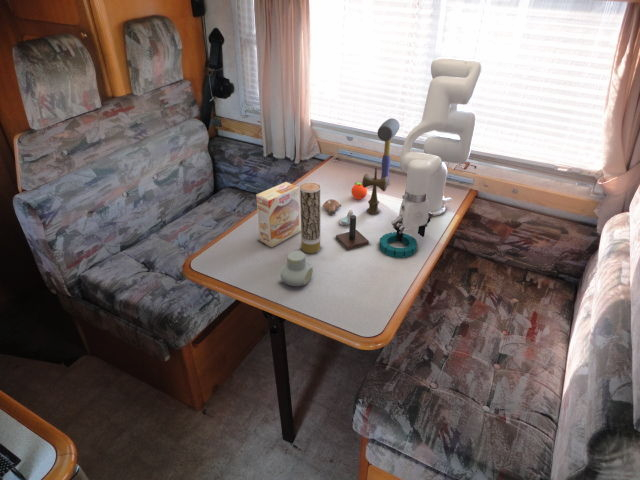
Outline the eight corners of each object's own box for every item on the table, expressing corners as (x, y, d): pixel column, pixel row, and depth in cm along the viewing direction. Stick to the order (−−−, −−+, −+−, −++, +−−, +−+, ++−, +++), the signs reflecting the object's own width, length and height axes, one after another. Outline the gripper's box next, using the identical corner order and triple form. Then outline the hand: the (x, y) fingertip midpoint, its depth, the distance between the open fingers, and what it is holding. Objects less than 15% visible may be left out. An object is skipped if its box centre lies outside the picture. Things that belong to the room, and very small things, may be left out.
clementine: (347, 195, 199) (347, 181, 195) (361, 192, 201) (361, 178, 197) (355, 203, 193) (356, 188, 189) (369, 200, 195) (370, 185, 191)
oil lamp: (317, 213, 187) (333, 219, 183) (316, 205, 184) (332, 211, 180) (330, 202, 192) (345, 208, 188) (329, 195, 190) (345, 200, 186)
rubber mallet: (388, 191, 203) (393, 126, 187) (372, 188, 205) (376, 124, 189) (395, 180, 212) (401, 118, 196) (380, 177, 215) (385, 116, 199)
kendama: (382, 217, 182) (386, 172, 171) (359, 213, 185) (362, 168, 174) (386, 210, 187) (389, 166, 176) (364, 207, 190) (366, 163, 179)
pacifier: (335, 224, 177) (348, 228, 174) (335, 210, 174) (349, 214, 171) (345, 217, 182) (358, 220, 179) (345, 203, 179) (358, 207, 176)
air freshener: (292, 268, 152) (291, 244, 147) (315, 274, 149) (314, 249, 144) (278, 286, 144) (276, 261, 138) (301, 293, 141) (300, 267, 136)
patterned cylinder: (306, 256, 158) (305, 192, 145) (298, 246, 164) (296, 184, 150) (323, 251, 161) (323, 188, 148) (315, 242, 166) (314, 181, 153)
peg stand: (356, 233, 172) (357, 209, 166) (368, 244, 165) (370, 219, 159) (335, 238, 168) (336, 214, 163) (347, 250, 162) (348, 225, 156)
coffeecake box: (271, 247, 163) (268, 200, 152) (259, 240, 167) (254, 194, 157) (300, 232, 172) (299, 186, 162) (287, 225, 176) (285, 180, 166)
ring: (402, 234, 170) (403, 229, 169) (423, 252, 160) (424, 246, 159) (372, 243, 166) (373, 237, 164) (392, 261, 156) (393, 255, 154)
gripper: (401, 204, 148) (396, 248, 157) (442, 195, 154) (435, 237, 163) (388, 196, 154) (384, 238, 162) (429, 187, 160) (422, 228, 169)
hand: (410, 238), depth 163 cm, fingers open, 9 cm apart
